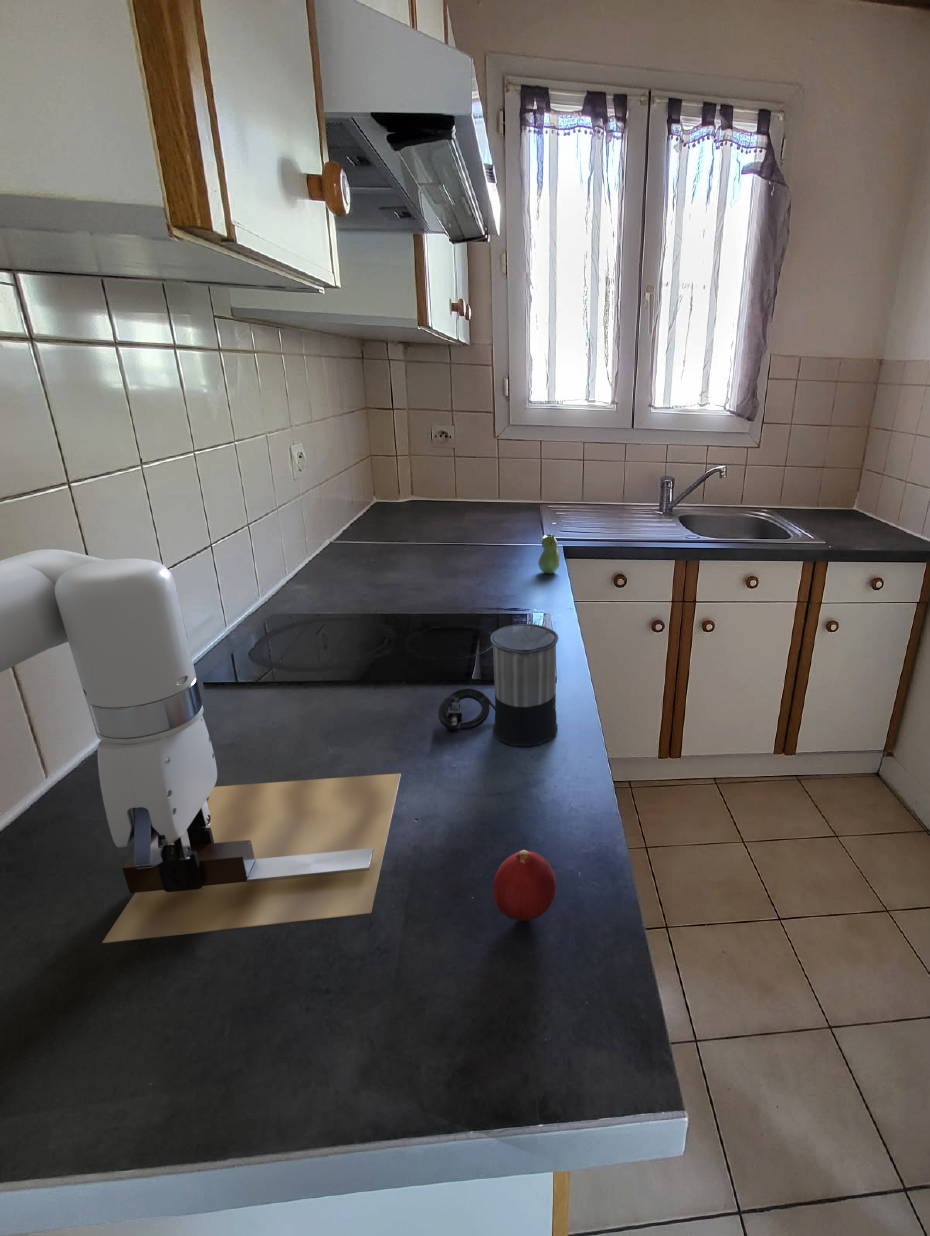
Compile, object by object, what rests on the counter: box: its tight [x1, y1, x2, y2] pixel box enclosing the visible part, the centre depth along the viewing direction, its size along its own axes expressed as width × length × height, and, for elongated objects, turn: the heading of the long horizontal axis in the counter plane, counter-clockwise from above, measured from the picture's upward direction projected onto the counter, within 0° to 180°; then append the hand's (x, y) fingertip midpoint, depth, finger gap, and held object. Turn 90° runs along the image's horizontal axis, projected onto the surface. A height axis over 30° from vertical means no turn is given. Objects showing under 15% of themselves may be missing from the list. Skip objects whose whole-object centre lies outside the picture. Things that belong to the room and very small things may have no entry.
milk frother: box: [438, 623, 559, 747], centre depth 90 cm, size 14×16×15 cm
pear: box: [537, 533, 560, 574], centre depth 160 cm, size 6×5×10 cm
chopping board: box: [101, 772, 402, 944], centre depth 67 cm, size 22×22×2 cm
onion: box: [492, 849, 557, 921], centre depth 60 cm, size 6×6×8 cm
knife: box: [121, 840, 374, 894], centre depth 61 cm, size 21×3×3 cm, turn 101°
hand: (192, 874), depth 61 cm, fingers closed on knife, 2 cm apart
